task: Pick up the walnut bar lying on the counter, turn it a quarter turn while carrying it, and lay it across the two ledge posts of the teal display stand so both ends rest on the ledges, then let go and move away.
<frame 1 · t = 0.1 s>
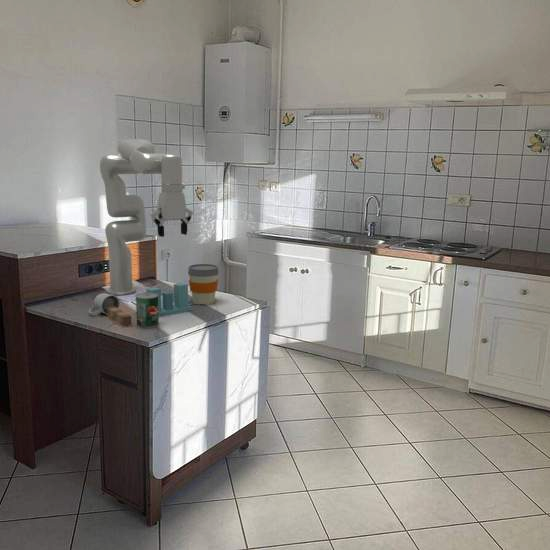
hand: (172, 235, 208), 31 cm above the counter, tool pointing down, fingers open, 9 cm apart
reusable coffee cup: (203, 302, 236), on the counter
ceramic mug: (103, 313, 216), on the counter
display stand: (167, 312, 219), on the counter
walnut bar: (119, 321, 207), on the counter
canned tomato: (147, 324, 204), on the counter
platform: (154, 304, 233), on the counter
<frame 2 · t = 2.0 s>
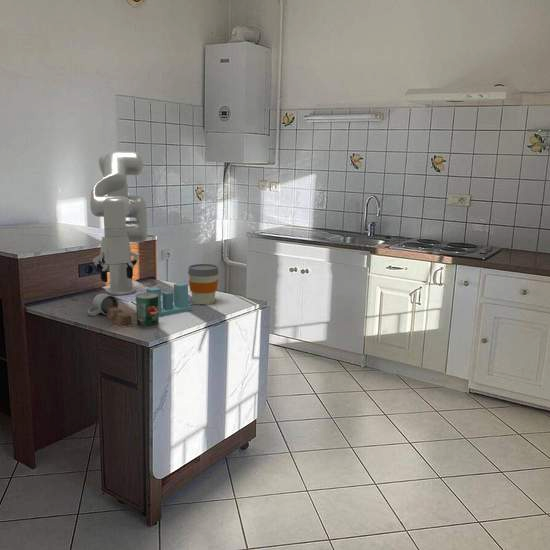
hand: (117, 279, 203), 16 cm above the counter, tool pointing down, fingers open, 9 cm apart
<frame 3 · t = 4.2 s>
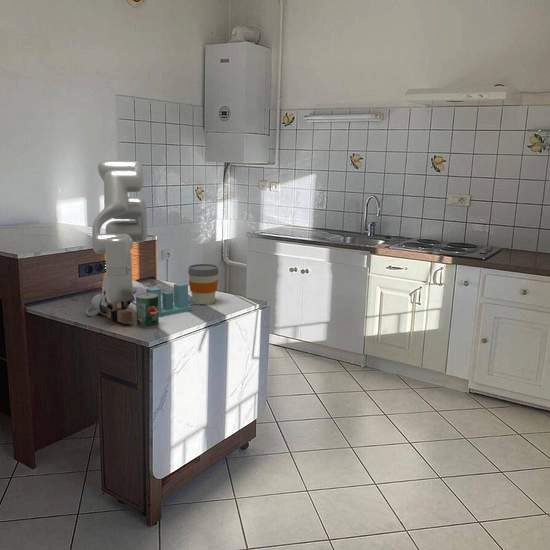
hand: (119, 319, 207), 1 cm above the counter, tool pointing down, fingers closed on walnut bar, 2 cm apart
walnut bar: (119, 319, 207), point 1 cm above the counter, tilted 5°, touching gripper
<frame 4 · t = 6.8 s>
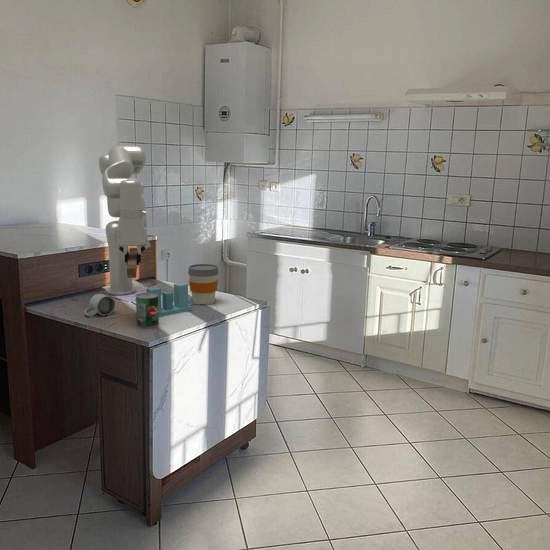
hand: (133, 263, 206), 21 cm above the counter, tool pointing down, fingers closed on walnut bar, 3 cm apart
walnut bar: (133, 267, 207), point 20 cm above the counter, tilted 19°, touching gripper
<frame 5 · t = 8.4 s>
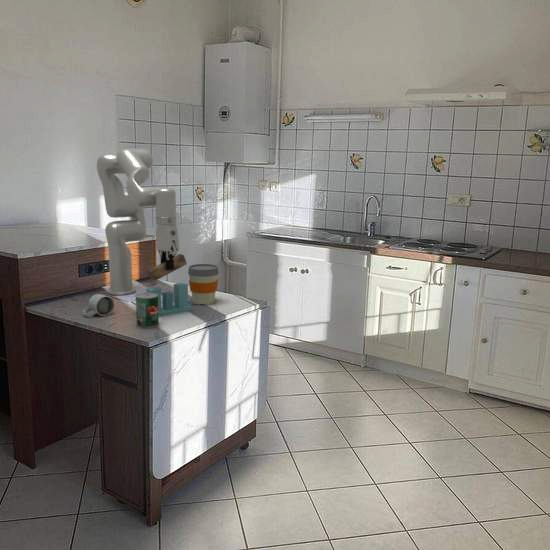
hand: (167, 268, 215), 18 cm above the counter, tool pointing down, fingers closed on walnut bar, 3 cm apart
walnut bar: (169, 271, 216), point 16 cm above the counter, tilted 19°, touching gripper
when the fingers open (13 cm above the counter, at t = 9.4 s): walnut bar drops 2 cm, resting on display stand.
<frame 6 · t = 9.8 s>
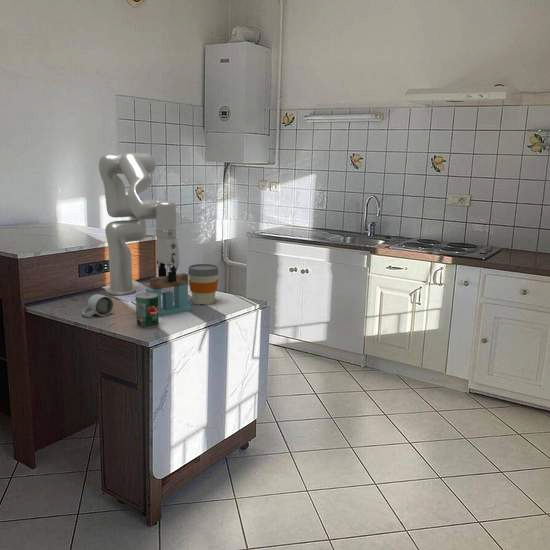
hand: (167, 279, 216), 13 cm above the counter, tool pointing down, fingers open, 6 cm apart
walnut bar: (169, 286, 217), point 10 cm above the counter, touching display stand
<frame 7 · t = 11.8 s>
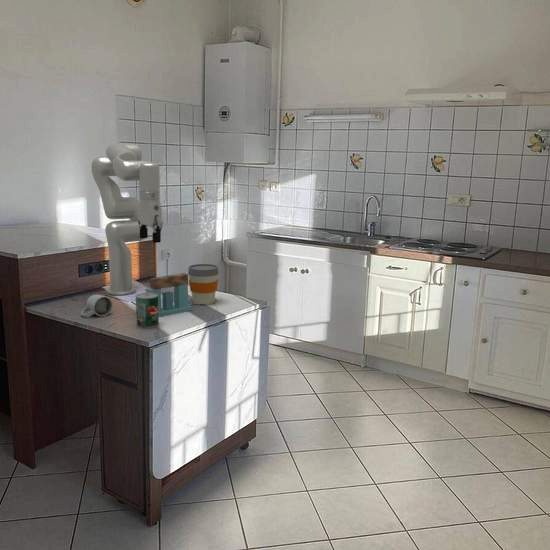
hand: (150, 240, 216), 28 cm above the counter, tool pointing down, fingers open, 9 cm apart
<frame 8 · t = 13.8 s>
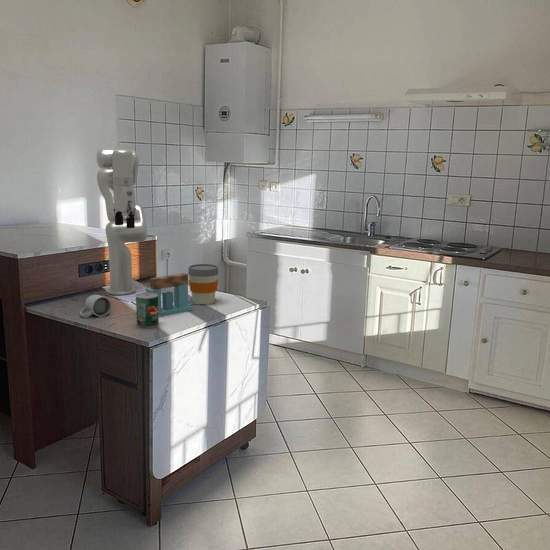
hand: (124, 226, 220), 32 cm above the counter, tool pointing down, fingers open, 9 cm apart
at the end: walnut bar 0.9 cm off-centre on the display stand, point 10.5 cm above the display stand's base; walnut bar tilted 0°; the gripper is holding nothing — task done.
